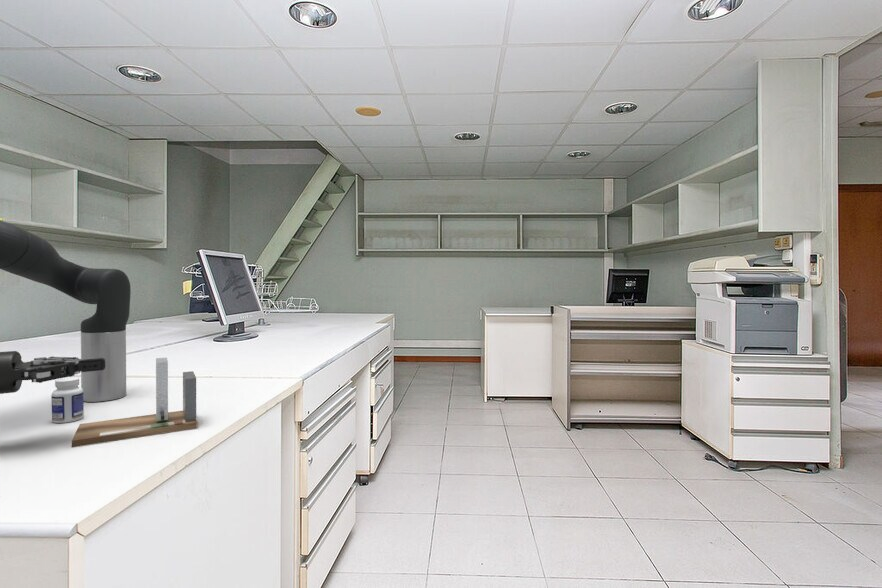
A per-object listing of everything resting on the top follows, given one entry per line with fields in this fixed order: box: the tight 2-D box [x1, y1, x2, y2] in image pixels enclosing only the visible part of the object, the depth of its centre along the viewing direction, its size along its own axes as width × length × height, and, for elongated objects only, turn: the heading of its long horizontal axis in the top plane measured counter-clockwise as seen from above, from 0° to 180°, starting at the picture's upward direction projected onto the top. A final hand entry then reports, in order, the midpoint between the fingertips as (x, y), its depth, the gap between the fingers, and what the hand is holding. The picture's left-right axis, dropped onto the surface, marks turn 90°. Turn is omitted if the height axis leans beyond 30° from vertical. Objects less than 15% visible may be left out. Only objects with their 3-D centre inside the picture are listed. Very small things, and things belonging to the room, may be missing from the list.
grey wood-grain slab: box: [182, 371, 197, 422], centre depth 95 cm, size 8×2×9 cm, turn 34°
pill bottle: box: [50, 376, 85, 424], centre depth 95 cm, size 5×5×9 cm
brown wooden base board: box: [71, 410, 198, 448], centre depth 90 cm, size 11×20×2 cm, turn 124°
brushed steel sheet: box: [155, 357, 169, 421], centre depth 91 cm, size 9×2×12 cm, turn 34°
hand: (105, 363), depth 87 cm, fingers closed
